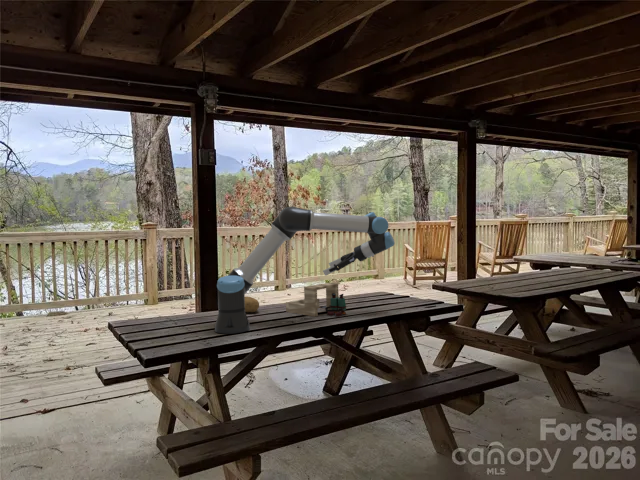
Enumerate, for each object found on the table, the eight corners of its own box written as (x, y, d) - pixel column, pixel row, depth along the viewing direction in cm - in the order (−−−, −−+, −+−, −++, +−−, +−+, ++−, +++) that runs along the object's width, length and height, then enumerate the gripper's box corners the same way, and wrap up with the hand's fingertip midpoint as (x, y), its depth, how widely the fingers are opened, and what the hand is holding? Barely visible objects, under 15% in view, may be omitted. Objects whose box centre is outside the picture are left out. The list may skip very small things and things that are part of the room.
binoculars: (321, 297, 230) (332, 292, 238) (323, 317, 231) (334, 312, 239) (337, 298, 225) (347, 292, 233) (339, 319, 226) (349, 313, 235)
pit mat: (330, 309, 249) (330, 308, 249) (320, 307, 253) (320, 307, 253) (340, 306, 254) (340, 306, 254) (330, 305, 259) (330, 304, 259)
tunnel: (314, 316, 230) (314, 288, 229) (286, 311, 245) (285, 284, 244) (338, 310, 243) (338, 283, 242) (310, 306, 258) (309, 281, 257)
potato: (246, 315, 238) (246, 300, 237) (236, 311, 250) (236, 296, 249) (264, 313, 243) (263, 297, 242) (253, 309, 255) (253, 294, 254)
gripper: (364, 265, 218) (325, 283, 225) (370, 252, 242) (335, 268, 248) (356, 251, 217) (317, 269, 224) (364, 239, 241) (328, 256, 248)
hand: (327, 269), depth 236 cm, fingers open, 13 cm apart
